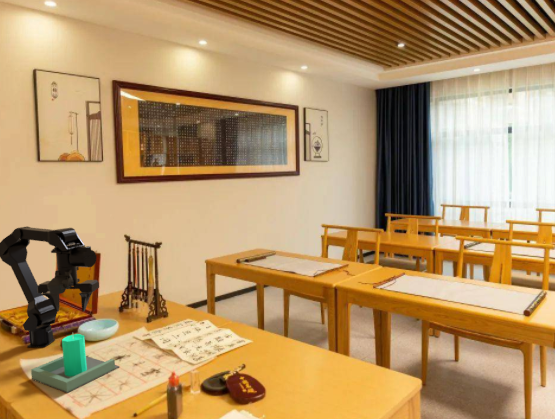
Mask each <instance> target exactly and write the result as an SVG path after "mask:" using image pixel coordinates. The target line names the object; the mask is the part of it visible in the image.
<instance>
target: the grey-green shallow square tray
mask: <svg viewBox="0 0 555 419" xmlns="http://www.w3.org/2000/svg"><path fill="white" fill-rule="evenodd" d="M115 360H116V359H112V358H111V359H107V360H106V361H105V360H104V361H103V360H101V359H97V358H95V357H94V358H93V357H91V356H87V355H86V364H87V370H86V371H84V372H82V373H80V374H78V375H76V376H66V375H65V372H64V360H63V356H60V357H57V358H56V359H53V360H51V361H48V362H46V363H44V364H41V365H39V366H36V367H34V368H31V369H30V373H31V380H32V379H34V380H33V381H35V380H36V381H35V382H37V381H38V383H40V382H41V384H43V385H45V386H48V387H50V388H53V389H56V390H58V391H61V392H63V393H65V394H69V393H71V392H72V391H74V390H77V389H79V388H80V387H83V386H85V385H87V384H90V383H91V382H93V381H95V380H97V379H98V378H100V377H103V376H105V375H107V374H108V373H111V372H113V371H116V370H117V369H119V368H120V365H116V362H115Z"/></svg>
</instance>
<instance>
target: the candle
mask: <svg viewBox="0 0 555 419" xmlns="http://www.w3.org/2000/svg"><path fill="white" fill-rule="evenodd" d="M61 347H62V348H61V349H62V357H63V360H64V372H65V375H66V376H76V375H78V374H80V373H82V372H84V371H86V370H87V364H86V356H87V354H86V341H85V335H84V334H80V333H75V334H74V333H73V334H71V335H67V336H65V337H63V338H62V339H61Z"/></svg>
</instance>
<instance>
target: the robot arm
mask: <svg viewBox="0 0 555 419" xmlns="http://www.w3.org/2000/svg"><path fill="white" fill-rule="evenodd" d="M31 241H36V242H37V241H38V242H43V243H44V242H45V243H47V244H48V245H49V246H53V249H51V250H50V253H51V254H55V255H56V256H55V258H56V266H57V269H56V270H55V272H54V277H53V278H52V279H51V280H46V281H44V282H41V283H39V284H38V283H37V280H36V279H35V277H34V275H33V272H32V270H31V268H30V266H29V264H28V261H27V257H28V248H27V247H28V246H29V245H30V243H31ZM97 258H98V257H97V254H96V252H95V251H94V250H93V249H92V247H91V245H87V246H86V245H85V243H84V242H83V240H82V239H81V237H80V236H79V234H78V232H76V229H75V228H73V227H65V228H57V229H51V228H50V229H47V228H39V227H30V226H21V227H16V228H14V230H12V232H11V233H10V234H8V235H7V236H6V237H4V238H3V239H2V240H1V241H0V259H1V261H2V262H3V263H5V264H6V265H8V266H10V267H11V270H12V271H13V275H14V276H15V278H16V280H17V282H18V283H17V284H19V287H20V289H21V291H22V293H23V295H24V298H25V299H26V301H27V307H26V314H27V319H26V320H25V321H24V322H23V324H22V327H23V329H24V331H25V332H28V333H29V336H28V337H29V344H28V345H26V346H27V348H47V346H49V345H51V344H52V343H54V341H56V338H54V332H53V329H52V325H54V324H55V323H56V317H57V314H58V312H59V311H60V294H64V293H65V292H66V290H79V292H80V293H78V294H79V296H80V298H81V301H80V302H81V310H82V312H85V311H86V309H87V306H88V304H89V301H90V298H91V296H92V294H93V292H95V291H96V290H97V289H99V288H100V282H99V281H98V280H97V279H86V280H85V281H83V282H81V283H80V281H81V280H80V278H78V272H77V271H79V269H80V268H92V267H94V265H95V264H96V262H97Z"/></svg>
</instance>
